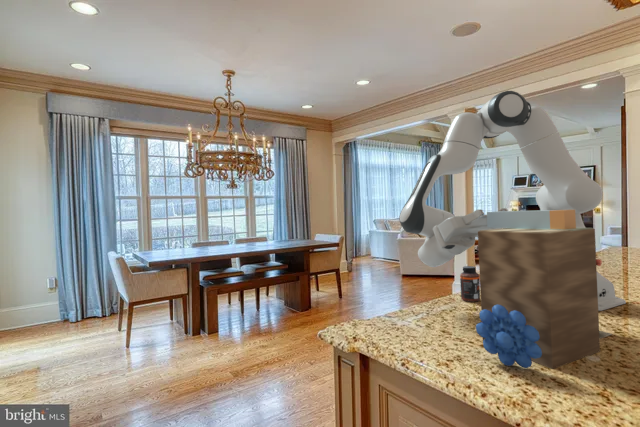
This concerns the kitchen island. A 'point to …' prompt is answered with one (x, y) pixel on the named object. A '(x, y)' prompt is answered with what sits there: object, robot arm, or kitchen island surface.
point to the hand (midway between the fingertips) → (494, 211)
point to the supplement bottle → (470, 284)
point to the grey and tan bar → (532, 219)
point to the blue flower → (508, 336)
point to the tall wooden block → (545, 286)
